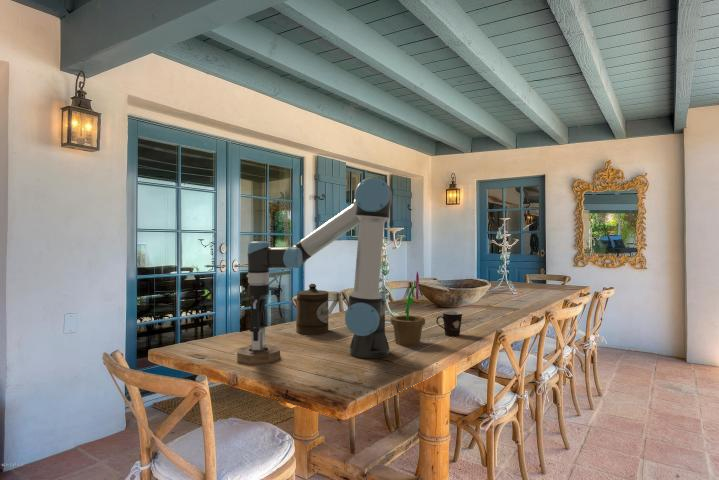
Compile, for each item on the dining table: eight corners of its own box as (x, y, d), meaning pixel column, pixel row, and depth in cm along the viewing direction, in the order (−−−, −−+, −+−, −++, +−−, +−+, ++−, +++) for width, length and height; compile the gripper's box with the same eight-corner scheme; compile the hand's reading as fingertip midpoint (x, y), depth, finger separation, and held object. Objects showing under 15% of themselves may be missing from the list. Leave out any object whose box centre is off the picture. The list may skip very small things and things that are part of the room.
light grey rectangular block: (265, 356, 168) (265, 326, 167) (262, 359, 164) (262, 328, 163) (254, 356, 168) (254, 326, 167) (251, 359, 164) (251, 328, 163)
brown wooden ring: (287, 355, 168) (287, 347, 168) (259, 366, 155) (259, 357, 155) (257, 350, 176) (257, 342, 176) (228, 359, 163) (228, 351, 163)
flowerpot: (423, 348, 180) (424, 272, 179) (388, 346, 183) (388, 272, 182) (425, 339, 194) (426, 269, 193) (392, 338, 197) (392, 269, 196)
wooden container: (326, 334, 202) (327, 285, 202) (293, 334, 203) (293, 285, 202) (329, 327, 217) (329, 282, 217) (298, 327, 217) (298, 281, 217)
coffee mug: (460, 333, 207) (460, 311, 207) (463, 337, 198) (463, 314, 198) (435, 332, 208) (435, 310, 208) (436, 336, 199) (436, 314, 199)
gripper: (254, 280, 175) (254, 340, 175) (241, 287, 155) (241, 354, 156) (273, 281, 175) (273, 340, 175) (263, 287, 155) (263, 354, 156)
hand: (258, 346), depth 165 cm, fingers open, 7 cm apart
